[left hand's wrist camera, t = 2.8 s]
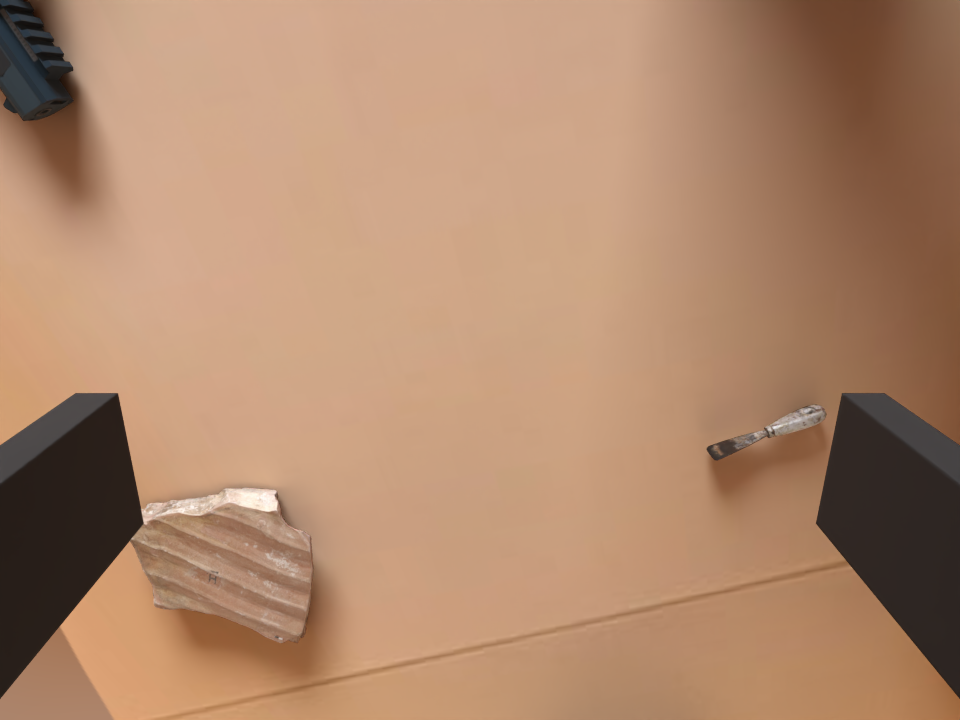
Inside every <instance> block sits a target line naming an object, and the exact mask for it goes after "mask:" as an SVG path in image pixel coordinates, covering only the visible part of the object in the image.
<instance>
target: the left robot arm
mask: <svg viewBox="0 0 960 720" xmlns="http://www.w3.org/2000/svg"><path fill="white" fill-rule="evenodd" d="M143 524H144V521H143V516H142V511H141V506H140V501H139V496H138V491H137V486H136V481H135V476H134V471H133V466H132V461H131V456H130V451H129V446H128V441H127V436H126V431H125V426H124V421H123V416H122V411H121V406H120V401H119V396H118V393H75V394H74V395H72V396H71V397H70V398H68V399H67V400H65V401H64V402H62V403H61V404H59V405H58V406H57V407H55V408H54V409H52V410H51V411H49V412H48V413H46V414H45V415H43V416H42V417H41V418H39V419H38V420H36V421H35V422H33V423H32V424H30V425H29V426H28V427H26V428H25V429H23V430H22V431H20V432H19V433H17V434H16V435H15V436H13V437H12V438H10V439H9V440H7V441H6V442H4V443H3V444H2V445H0V698H1V697H2V696H3V695H4V693H5V692H6V691H7V690H8V689H9V687H10V686H11V685H12V684H13V682H14V681H15V680H16V679H17V678H18V676H19V675H20V674H21V673H22V672H23V670H24V669H25V668H26V667H27V665H28V664H29V663H30V662H31V661H32V659H33V658H34V657H35V656H36V654H37V653H38V652H39V651H40V650H41V648H42V647H43V646H44V645H45V643H46V642H47V641H48V640H49V639H50V637H51V636H52V635H53V634H54V633H55V631H56V630H57V629H58V628H59V626H60V625H61V624H62V623H63V622H64V620H65V619H66V618H67V617H68V615H69V614H70V613H71V612H72V611H73V609H74V608H75V607H76V606H77V605H78V603H79V602H80V601H81V600H82V598H83V597H84V596H85V595H86V594H87V592H88V591H89V590H90V589H91V587H92V586H93V585H94V584H95V583H96V581H97V580H98V579H99V578H100V576H101V575H102V574H103V573H104V572H105V570H106V569H107V568H108V567H109V565H110V564H111V563H112V562H113V561H114V559H115V558H116V557H117V556H118V555H119V553H120V552H121V551H122V550H123V548H124V547H125V546H126V545H127V544H128V542H129V541H130V540H131V539H132V537H133V536H134V535H135V534H136V533H137V531H138V530H139V529H140V528H141V526H142V525H143ZM816 524H817V525H818V526H819V528H820V529H821V530H822V531H823V533H824V534H825V535H826V536H827V537H828V539H829V540H830V541H831V542H832V544H833V545H834V546H835V547H836V548H837V550H838V551H839V552H840V553H841V555H842V556H843V557H844V558H845V559H846V561H847V562H848V563H849V564H850V565H851V567H852V568H853V569H854V570H855V572H856V573H857V574H858V575H859V576H860V578H861V579H862V580H863V581H864V583H865V584H866V585H867V586H868V587H869V589H870V590H871V591H872V592H873V594H874V595H875V596H876V597H877V598H878V600H879V601H880V602H881V603H882V605H883V606H884V607H885V608H886V609H887V611H888V612H889V613H890V614H891V615H892V617H893V618H894V619H895V620H896V622H897V623H898V624H899V625H900V626H901V628H902V629H903V630H904V631H905V633H906V634H907V635H908V636H909V637H910V639H911V640H912V641H913V642H914V644H915V645H916V646H917V647H918V648H919V650H920V651H921V652H922V653H923V655H924V656H925V657H926V658H927V659H928V661H929V662H930V663H931V664H932V665H933V667H934V668H935V669H936V670H937V672H938V673H939V674H940V675H941V676H942V678H943V679H944V680H945V681H946V683H947V684H948V685H949V686H950V687H951V689H952V690H953V691H954V692H955V694H956V695H957V696H958V697H959V698H960V445H958V444H957V443H956V442H954V441H953V440H951V439H950V438H948V437H947V436H945V435H944V434H943V433H941V432H940V431H938V430H937V429H935V428H934V427H932V426H931V425H930V424H928V423H927V422H925V421H924V420H922V419H921V418H919V417H918V416H917V415H915V414H914V413H912V412H911V411H909V410H908V409H906V408H905V407H903V406H902V405H901V404H899V403H898V402H896V401H895V400H893V399H892V398H890V397H889V396H888V395H886V394H885V393H842V396H841V401H840V406H839V411H838V416H837V421H836V426H835V431H834V436H833V441H832V446H831V451H830V456H829V461H828V466H827V471H826V476H825V481H824V486H823V491H822V496H821V501H820V506H819V511H818V516H817V521H816Z"/></svg>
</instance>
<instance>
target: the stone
mask: <svg viewBox="0 0 960 720" xmlns="http://www.w3.org/2000/svg"><path fill="white" fill-rule="evenodd" d="M141 511H142V516H143V521H144V524H143V525H142V526H141V528H140V529H139V530H138V531H137V533H136V534H135V535H134V536H133V537H132V539H131V540H130V542H131V543H132V545H133V546H134V548H135V550H136V553H137V556H138V559H139V561H140V563H141V566H142V569H143V571H144V573H145V574H146V576H147V577H148V579H149V581H150V582H151V584H152V586H153V596H154V605H155V606H156V607H157V608H162V609H169V610H171V609H187V610H192V611H197V612H201V613H205V614H214V615H217V616H220V617H223V618H225V619H228V620H231V621H233V622H236V623H238V624H241V625H244V626H246V627H249V628H251V629H252V630H254V631H256V632H258V633H260V634H261V635H263V636H264V637H267V638H269V639H272V640H274V641H277V642H280V643H284V642H286V641H288V640H289V641H292V642H296V643H298V642H299V639H300V638H302V637H304V635H305V633H306V622H307V616H308V611H309V607H310V602H311V592H310V589H311V584H312V579H313V569H314V567H313V562H312V546H311V537H310V535H308V534H307V533H306V532H304V531H300V530H298V529H294V528H293V527H290V526H289V525H288V524H287V523H286V522H285V520H284V518H283V517H282V515H281V508H280V504H279V502H278V493H277V491H276V490H269V489H255V488H242V489H239V488H237V489H234V488H226V489H224V490H222V491H221V492H220V493H219V494H217V495H208V496H207V497H202V498H193V499H185V500H177V501H176V500H171V501H168V502H165V503H150V504H147V508H145V509H141Z"/></svg>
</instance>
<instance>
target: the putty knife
mask: <svg viewBox="0 0 960 720" xmlns="http://www.w3.org/2000/svg"><path fill="white" fill-rule="evenodd" d="M825 417H826V412H825V409H824V408H823V407H822V406H820V405H810V406H807V407H804V408H801V409H798V410H796V411H794V412H792V413H790V414H788V415H786V416H784V417H782V418H781V419H779V420H777V421H775V422H774V423H772V424H770V425H768V426H767V427H765V428H764V429H765V430H762V431H758V432H754V433H750V434H746V435H743V436H739V437H735V438H732V439H729V440H726V441H722V442H719V443H717V444H714V445H711V446H709V447H707V451H708V452H709V454H710V455H711V457H712V458H713V459H714V460H719V459H722V458H724V457H726V456H728V455H730V454H732V453H735V452H737V451H739V450H741V449H743V448H745V447H747V446H749V445H751V444H753V443H755V442H757V441H759V440H760V439H762V438H764V437H766V436H767V437H768V438H771V437H774V436H781V435H785V434H789V433H792V432H796V431H800V430H803V429H806V428H809V427H811V426H814V425H816V424H819V423H821V422H822V421H823V420H824V419H825Z"/></svg>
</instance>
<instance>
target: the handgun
mask: <svg viewBox="0 0 960 720" xmlns="http://www.w3.org/2000/svg"><path fill="white" fill-rule="evenodd" d="M32 13H34V9H33V8H32V6H31V5H30V3H29V2H25V1H23V0H0V89H1V91H2V92H3V93H4V95H5V96H6V97H7V98H6V100H5V102H4V104H3V105H4V107H5V108H6V109H8V110H10V111H11V112H13V113H18V114H19V115H20V117H21V118H22V120H23V121H29V120H38V119H41V118H44V117H47V116H49V115H52V114H54V113H55V112H57V111H59V110H60V109H62V108H64V107H65V106H67V105H68V104H70V103H72V102H73V101H74V100H73V99H72V97H71V96H70V94H69V93H68V92H67V90H66V89H65V87H64V86H63V84H62V83H61V82H60V80H59V79H60V78H61V77H62V75H63V74H65V73H68V72H71V71H73V67H72V65H71V64H70V62H65V61H64V59H63V58H62V57H64V53H63V52H62V50H61V49H60V47H55V46H54V45H53V43H52V42H53V41H54V39H53V37H52V36H51V34H50V33H49V32H44V30H43V29H42V27H44V24H43V22H42V21H41V20H40V18H37V17H34V15H33V14H32Z"/></svg>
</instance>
